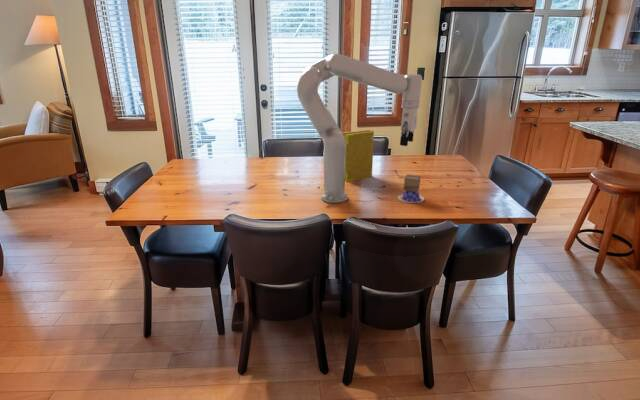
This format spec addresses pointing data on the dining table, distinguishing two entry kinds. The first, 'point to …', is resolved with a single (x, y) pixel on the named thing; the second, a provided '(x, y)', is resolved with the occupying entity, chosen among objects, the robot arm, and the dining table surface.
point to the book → (358, 154)
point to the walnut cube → (412, 182)
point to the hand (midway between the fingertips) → (406, 143)
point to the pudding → (411, 197)
